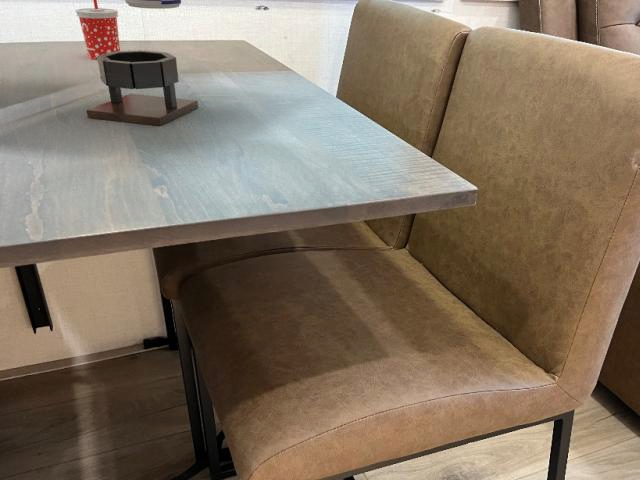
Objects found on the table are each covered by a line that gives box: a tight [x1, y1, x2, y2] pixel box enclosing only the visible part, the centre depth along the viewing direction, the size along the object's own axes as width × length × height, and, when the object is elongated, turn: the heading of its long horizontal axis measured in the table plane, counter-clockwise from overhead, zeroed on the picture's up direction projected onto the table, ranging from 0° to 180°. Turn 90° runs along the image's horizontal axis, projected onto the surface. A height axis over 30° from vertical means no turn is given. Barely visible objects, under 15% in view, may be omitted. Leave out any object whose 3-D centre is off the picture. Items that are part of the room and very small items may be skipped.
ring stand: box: [85, 49, 199, 127], centre depth 82 cm, size 10×10×7 cm
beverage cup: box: [75, 0, 121, 61], centre depth 102 cm, size 6×6×14 cm
